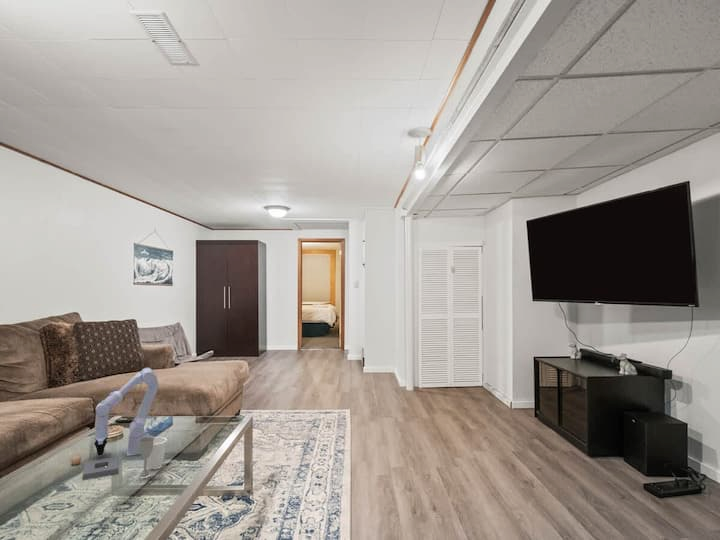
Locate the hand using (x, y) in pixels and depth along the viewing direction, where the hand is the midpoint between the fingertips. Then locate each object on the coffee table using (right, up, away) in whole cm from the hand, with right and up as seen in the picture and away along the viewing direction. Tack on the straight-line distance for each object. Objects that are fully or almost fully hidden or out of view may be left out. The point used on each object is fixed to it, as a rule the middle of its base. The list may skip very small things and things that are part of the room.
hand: (100, 453), depth 209 cm
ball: (-8, 0, -7) cm, 10 cm away
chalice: (+31, -4, -15) cm, 35 cm away
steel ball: (0, 0, 0) cm, 0 cm away
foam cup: (+31, -4, -6) cm, 32 cm away
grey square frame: (+8, -3, -12) cm, 14 cm away
